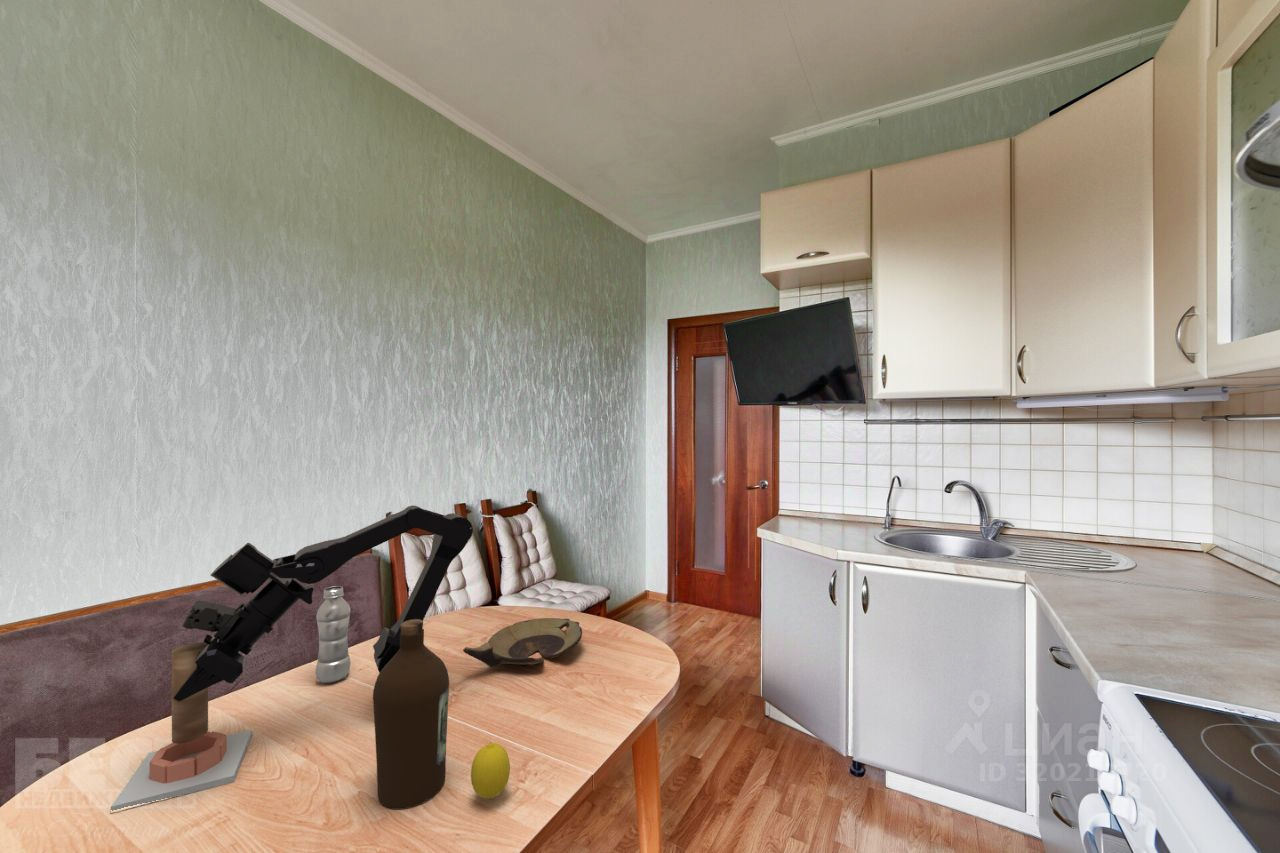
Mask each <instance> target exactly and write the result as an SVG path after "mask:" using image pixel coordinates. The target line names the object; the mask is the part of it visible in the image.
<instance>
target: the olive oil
mask: <svg viewBox="0 0 1280 853" xmlns="http://www.w3.org/2000/svg"><path fill="white" fill-rule="evenodd" d="M424 632H425V629H424V620H423V621H422V620H419V619H413V620H408V621H405V622H403V623H402V624H401V632H400V649H399V651H398V652H397V653H396V654H395V655H394V656H393V658H392V659H391V660H390V661H389V662H388V663H387V664H386V665H385V667H384V668H383V669H382V670H381V672H380V673H379V674H378V675H377V678H376V681H375V682H374V686H373V690H372V704H373V719H374V720H373V722H374V736H375V737H374V740H375V756H376V757H375V758H376V781H377V782H376V783H377V785H376V788H377V790H376V791H377V799H378V802H379V803H380V804H381V806H383V807H386V808H388V809H392V810H402V809H403V810H404V809H409V808H413V807H416V806H419V805H422V804H423V803H426V802H427V801H429V800H430V799H433V797H435V796H436V795H437V794H438V793H439V792H440V791H441V790H442V789H443V786H444V784H445V782H446V769H447V768H446V767H447V766H446V765H447V764H446V757H447V738H448V737H447V736H448V734H447V733H448V715H449V700H450V699H449V696H450V695H449V694H450V676H449V672H448V669H447V667H446V664H445V662H444V661H443V660H442V659H441V658H440V657H439V656H438V655H437V654H436V653H434V652H433V651H432V650H431V649H430V648H428V647H427V646H426V645H425V643H424V642H425V641H424V640H425V633H424Z"/></svg>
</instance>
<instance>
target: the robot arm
mask: <svg viewBox="0 0 1280 853" xmlns="http://www.w3.org/2000/svg"><path fill="white" fill-rule="evenodd" d="M413 529H420V530H423V531H425V532H428V533H431V534H433V537H432V543H431V549H430V554H429V557H428V559H427V560H426V562H425V563H424V564H425V565H424V566H423V568H422V571H421V572H420V574H419V576H418V579H417V581H416V583H415V585H414V586H413V589H412V590H411V593H410V595H409V597H408V599H407V601H406V603H405V605H404V607H403V610H402V611H401V614H400V615H399V617H398V620H396V622H395V623H394V625H392V626H391V627H390V628H387V627H385V626H383V627H382V629H381V632H380V634H379V638H378V639H377V641H376V642H375V643H374V644H373V645H372V647H373V650H374V652H373V659H374V662H375V665H376V668H377V671H378V672H379V673H380V672H381V670H382V669H383V668H384V667H385V665H386V664H387V663H388V662H389V661H390V660H391V659H392V658H393V656H394V655H395V654H396V653H397V652H398V651H399V649H400V632H401V624H402V623H403V622H405V621H408V620H413V619H419V620H422V621H423V622H424V620H425V617H426V615H427V613H428V611H429V610H430V607H431V604H432V603H433V600H434V598H435V596H436V594H437V592H438V591H439V588H440V586H441V584H442V582H443V580H444V578H445V576H446V573H447V571H448V569H449V568H450V565H451V563H452V561H454V559H456V557H457V556H458V555H460V553H461V552H462V551H463V549H464V548H465V547H466V546H467V544H468V542H469V541H470V540H471V538H472V536H473V534H474V533H473V532H474V528H473V524H472V523H471V522H470V520H469V519H468V518H466V517H463V516H462V515H460V514H458V513H448V514H445V515H444V514H442V513H438V512H435V511H431V510H428V509H424V508H422V507H420V506H418V505H408V506H406V507H405V508H404V509H403V510H401V511H399V512H395V513H394V514H392V515H390V516H387V517H385V518H382V519H380V520H379V521H376V522H373V523H371V524H370V525H367V526H364V527H363V528H361V529H358V530H356V531H354V532H352V533H350V534H348V535H345V536H342V537H339V538H334V539H330V540H329V539H328V540H324V541H320V542H317V543H314V544H310V545H307V546H304V547H302V548H300V549H299V550H298V551H296V553H293V554H290V555H285V556H281V557H277V558H273V559H272V558H271V557H268V556H267V555H265V554H264V553H263V552H261V551H259V550H258V549H257V547H256V546H255V545H253V544H252V543H250V542H247V543H244V545H243V546H242V547H241V548H239V549H238V550H237V551H236V552H234V553H233V554H229V556H228V557H227V558H226V559H224V560H223V561H222V563H220V564H219V565H218V566H217V567H216V568H215V569H214V570H213V572H211V573H210V577H212V578H214V579H216V580H217V581H218V582H220V583H221V584H223V585H224V586H226V587H228V588H229V589H231V590H232V591H233V592H236V594H239V595H240V596H241V595H243V594H246V595H248V594H254V593H255V592H256V591H257V590H258V589H260V588H261V587H262V586H263V585H264V586H263V587H262V588H261V589H260V590H259V591H258V592H257V593H256V594H255V595H253V597H252V598H251V599H249V601H245V602H244V603H243V602H241V603H240V604H238V606H237V607H236V608H234V607H230V606H227V605H224V604H218V603H215V602H209V601H205V600H204V601H203V600H196V601H195V602H194V603H193V605H192V607H191V608H190V609H189V610H190V611H189V612H188V614H187V616H186V617H185V619H184V621H183V623H182V627H183V628H185V629H189V630H193V629H195V630H196V629H197V630H202V631H207V632H210V633H213V632H215V633H214V634H213V635H211V634H206V635H205V637H204V639H203V642H204V643H208V646H207V647H205V648H204V649H203V650H202V652H198V654H197V656H196V661H195V663H196V664H197V667H196V669H195V670H194V671H193V673H192V674H191V675H190V676H189V678H188V679H187V680H186V682H185V683H184V684H183V685H182V687H181V688H180V689H179V691H178V692H177V693H176V695H175V696H174V699H175V700H177V701H182V700H184V699H186V698H188V697H190V696H192V695H194V694H196V693H198V692H200V691H202V690H204V689H206V688H208V689H209V688H210V687H212V686H213V685H216V684H218V683H220V682H222V681H225V682H226V683H228V684H233V683H234V682H235V681H236V680H237V679H238V678H239V677H240V676H241V675H242V674H243V672H244V668H245V661H246V659H245V656H247V655H249V653H250V652H251V651H252V650H253V646H254V645H255V644H257V643H258V641H259V640H260V639H261V638H262V637H263V636H264V635H265V634H266V633H267V634H269V633H270V632H271V631H273V629H274V625H275V624H276V623H277V622H278V621H279V620H280V619H281V618H282V617H283V616H284V615H285V614H286V613H287V612H288V611H289V610H290V609H291V608H292V607H293V606H294V605H295V604H296V603H297V602H298V601H299V600H301V601H303V602H305V603H306V604H308V605H312V603H313V594H314V593H313V592H314V591H315V590H314V585H313V584H316V583H319V582H321V581H323V580H324V579H325V578H327V577H329V576H330V575H331V574H333V573H335V572H336V571H337V570H339V569H340V568H341V567H343V565H345V564H346V563H347V562H349V561H350V560H351V559H353V558H354V557H357V556H358V555H360V554H363V553H365V552H366V551H369V550H371V549H373V548H375V547H378V546H379V545H382V544H383V543H385V542H387V541H390V540H392V539H394V538H396V537H399V536H401V535H402V534H405V533H407V532H409V531H411V530H413ZM269 579H270V580H269ZM267 580H269V581H268V582H267V583H266V584H265V582H266V581H267ZM304 584H308V585H304ZM239 652H240V653H239ZM241 653H242V654H244V655H245V656H244V655H242V654H241Z"/></svg>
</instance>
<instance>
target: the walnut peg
mask: <svg viewBox="0 0 1280 853" xmlns="http://www.w3.org/2000/svg"><path fill="white" fill-rule="evenodd" d="M207 646H208V643H204V641H203V642H193V643H188V644H184V645H181V646H178V647H177V648H174V649H172V651H171V743H176V744H180V743H186V742H190V741H193V740H196V739H198V738H200V737H202V736H203V735H205V734H206V733H207V732H209V687H208V688H206V689H204V690H202V691H200V692H198V693H196V694H194V695H192V696H190V697H188V698H186V699H184V700H182V701H177V700H175V699H174V696H175V695H176V693H177V692H178V691H179V689H180V688H181V687H182V685H183V684H184V683H185V682H186V680H187V679H188V678H189V676H190V675H191V674H192V673H193V671H194V670H195V669H196V667H197V664H196V663H195V661H196V656H197V654H198V652H202V650H203V649H204V648H205V647H207Z"/></svg>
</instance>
